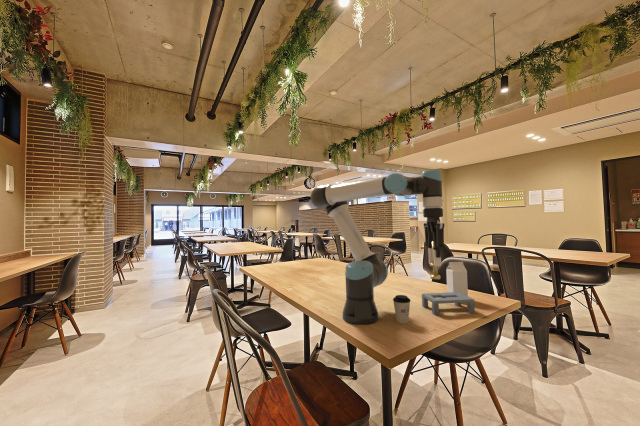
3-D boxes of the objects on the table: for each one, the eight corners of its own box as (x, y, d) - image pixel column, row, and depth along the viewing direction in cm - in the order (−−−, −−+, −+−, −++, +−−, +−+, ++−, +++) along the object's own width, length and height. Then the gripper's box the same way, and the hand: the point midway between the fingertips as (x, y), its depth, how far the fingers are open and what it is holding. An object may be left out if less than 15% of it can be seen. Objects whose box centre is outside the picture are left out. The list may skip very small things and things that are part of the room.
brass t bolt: (433, 279, 109) (431, 242, 110) (428, 277, 113) (427, 241, 113) (442, 279, 109) (440, 242, 110) (437, 277, 113) (436, 241, 114)
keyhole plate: (434, 315, 116) (434, 301, 117) (422, 306, 128) (421, 293, 129) (474, 313, 118) (474, 299, 118) (458, 304, 129) (458, 292, 130)
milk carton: (468, 301, 134) (466, 263, 135) (453, 301, 134) (452, 263, 135) (461, 297, 141) (459, 260, 142) (447, 297, 141) (445, 261, 142)
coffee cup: (390, 319, 112) (389, 295, 113) (403, 317, 115) (402, 293, 115) (401, 325, 106) (400, 299, 106) (415, 322, 109) (414, 297, 109)
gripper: (452, 206, 104) (455, 267, 103) (432, 208, 121) (434, 261, 120) (433, 206, 103) (435, 268, 103) (415, 208, 120) (417, 261, 119)
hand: (434, 264), depth 111 cm, fingers closed on brass t bolt, 4 cm apart
